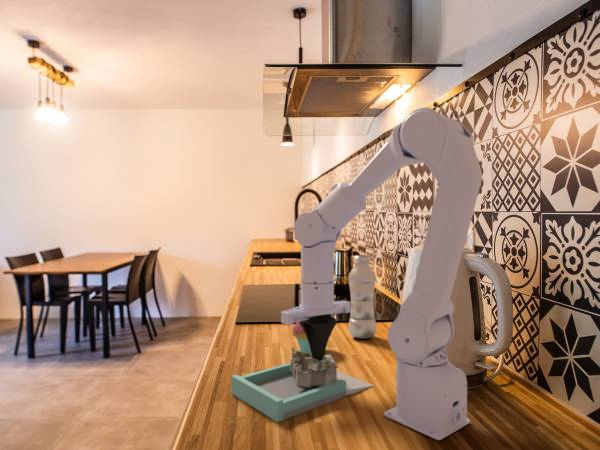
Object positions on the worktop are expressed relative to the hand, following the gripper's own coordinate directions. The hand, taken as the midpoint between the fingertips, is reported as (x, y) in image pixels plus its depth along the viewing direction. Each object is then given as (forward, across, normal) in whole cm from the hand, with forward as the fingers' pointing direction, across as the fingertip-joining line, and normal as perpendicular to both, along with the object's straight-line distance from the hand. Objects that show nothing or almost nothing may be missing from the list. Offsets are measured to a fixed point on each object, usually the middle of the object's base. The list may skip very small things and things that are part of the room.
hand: (317, 358), depth 75 cm
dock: (+5, +4, 0) cm, 6 cm away
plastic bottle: (+5, -28, -15) cm, 32 cm away
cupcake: (+5, -12, -15) cm, 20 cm away
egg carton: (+4, +4, 0) cm, 6 cm away
